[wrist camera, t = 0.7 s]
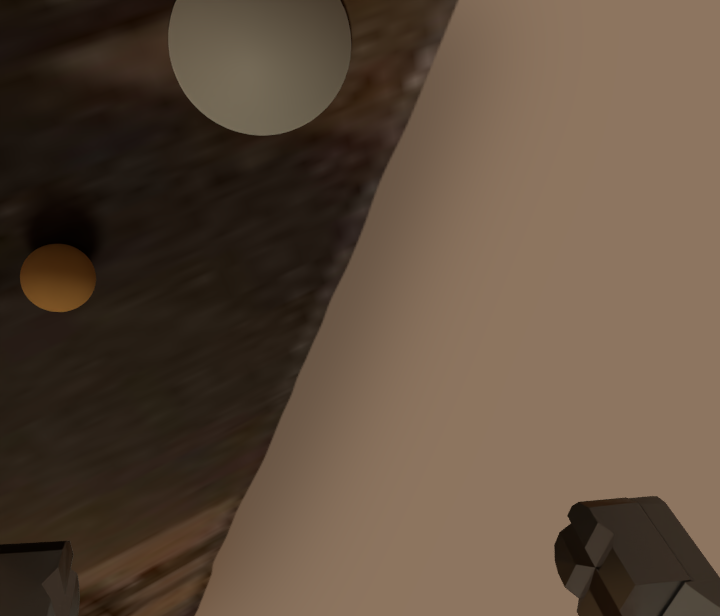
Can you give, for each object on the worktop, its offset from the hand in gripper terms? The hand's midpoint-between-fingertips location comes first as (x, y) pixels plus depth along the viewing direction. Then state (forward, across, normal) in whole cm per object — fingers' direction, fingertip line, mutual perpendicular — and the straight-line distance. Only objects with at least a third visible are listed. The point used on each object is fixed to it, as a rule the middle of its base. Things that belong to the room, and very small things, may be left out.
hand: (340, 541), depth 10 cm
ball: (+41, +14, +20) cm, 47 cm away
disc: (+42, -1, +1) cm, 42 cm away
